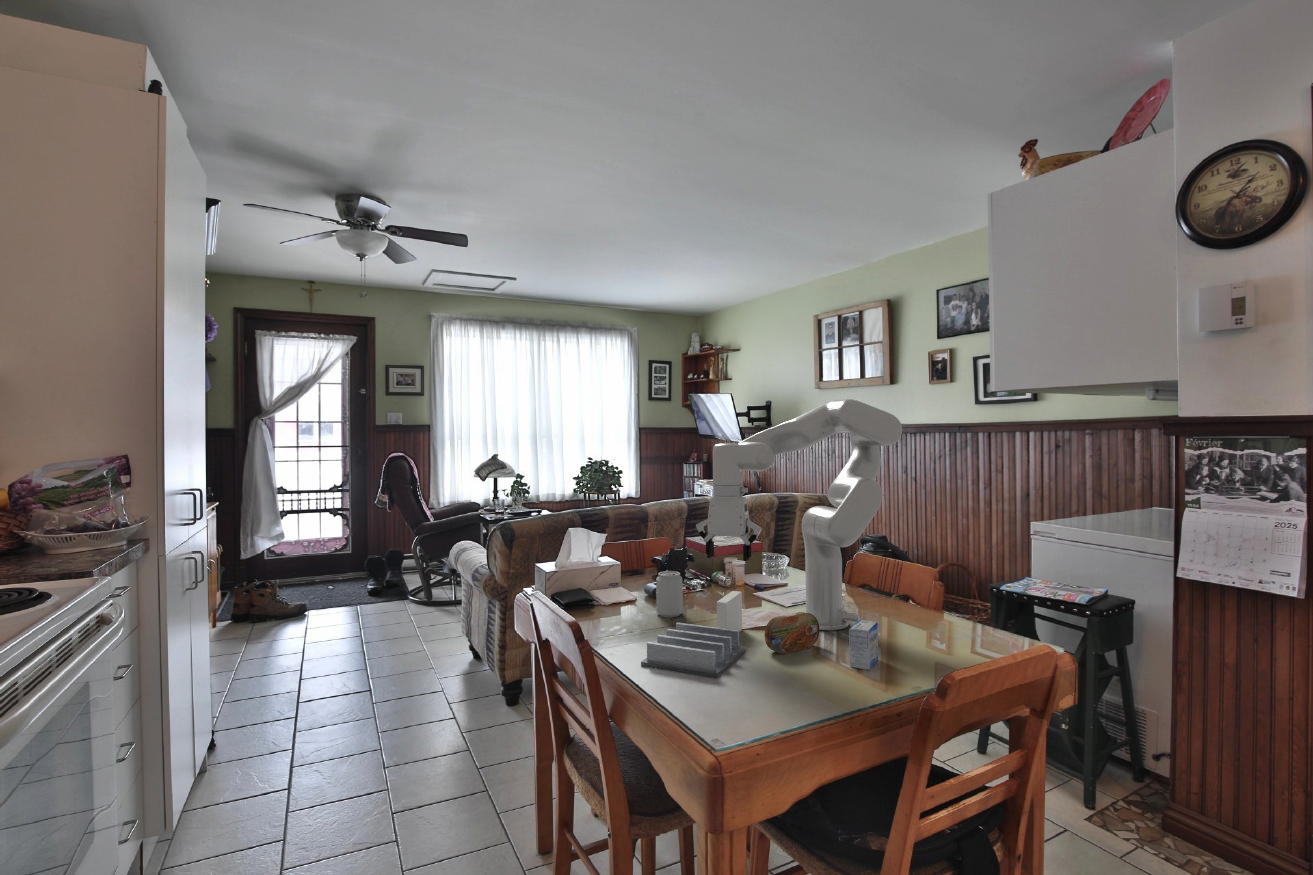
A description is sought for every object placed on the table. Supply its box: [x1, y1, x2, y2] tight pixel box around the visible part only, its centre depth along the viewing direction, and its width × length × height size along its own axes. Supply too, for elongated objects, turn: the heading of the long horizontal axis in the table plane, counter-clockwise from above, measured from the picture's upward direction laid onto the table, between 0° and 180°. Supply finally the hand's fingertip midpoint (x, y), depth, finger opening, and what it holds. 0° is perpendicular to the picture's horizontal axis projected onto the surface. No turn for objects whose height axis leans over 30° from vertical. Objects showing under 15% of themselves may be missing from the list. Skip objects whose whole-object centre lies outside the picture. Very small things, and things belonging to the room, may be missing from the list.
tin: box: [764, 611, 821, 655], centre depth 155 cm, size 15×3×8 cm, turn 117°
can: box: [655, 570, 684, 618], centre depth 186 cm, size 8×8×12 cm
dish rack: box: [640, 621, 746, 680], centre depth 150 cm, size 18×19×5 cm
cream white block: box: [716, 590, 743, 633], centre depth 166 cm, size 2×12×10 cm, turn 154°
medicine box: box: [848, 619, 879, 671], centre depth 145 cm, size 8×4×9 cm, turn 148°
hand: (728, 558), depth 166 cm, fingers open, 9 cm apart
